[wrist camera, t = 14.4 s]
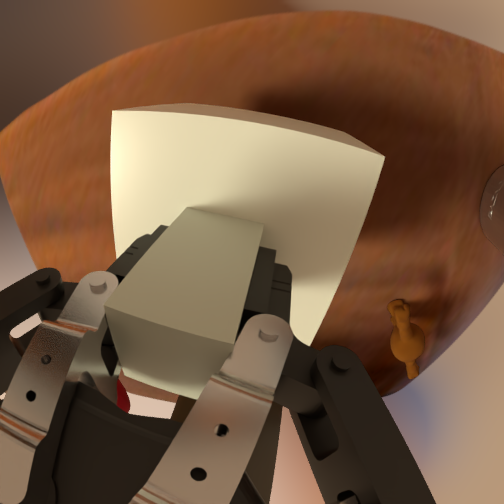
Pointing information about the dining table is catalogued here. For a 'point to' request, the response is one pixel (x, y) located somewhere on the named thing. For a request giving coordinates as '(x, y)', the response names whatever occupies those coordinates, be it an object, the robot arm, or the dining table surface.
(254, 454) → the bottle
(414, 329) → the toy figurine
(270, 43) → the dining table surface
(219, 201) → the cover
